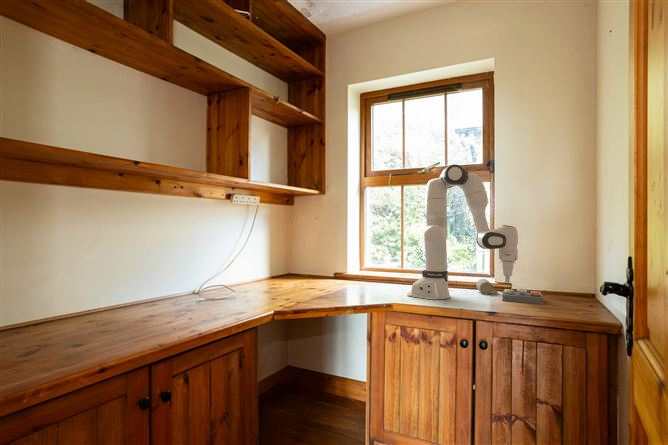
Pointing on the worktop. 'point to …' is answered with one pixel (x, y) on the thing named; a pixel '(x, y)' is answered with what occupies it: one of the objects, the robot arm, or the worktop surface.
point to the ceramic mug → (485, 287)
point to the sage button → (509, 291)
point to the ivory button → (521, 291)
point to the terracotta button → (535, 293)
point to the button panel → (523, 298)
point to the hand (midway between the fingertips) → (507, 282)
